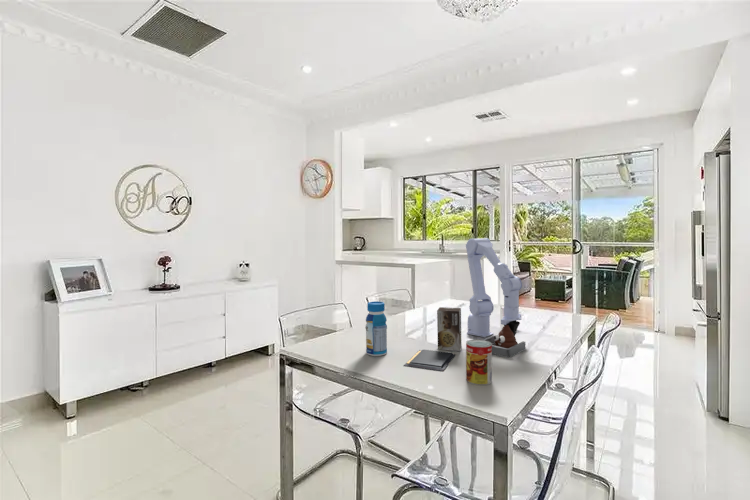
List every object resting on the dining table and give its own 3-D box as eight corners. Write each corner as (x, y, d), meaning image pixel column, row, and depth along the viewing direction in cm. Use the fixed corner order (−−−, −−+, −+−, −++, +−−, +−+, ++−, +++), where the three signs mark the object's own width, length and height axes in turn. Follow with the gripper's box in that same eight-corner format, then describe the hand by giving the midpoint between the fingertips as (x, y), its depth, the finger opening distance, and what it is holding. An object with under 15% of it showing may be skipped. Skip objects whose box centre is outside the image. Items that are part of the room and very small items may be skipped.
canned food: (466, 374, 127) (466, 338, 126) (491, 376, 124) (491, 340, 124) (465, 383, 119) (465, 345, 118) (491, 386, 117) (491, 347, 116)
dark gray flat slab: (443, 368, 129) (401, 362, 136) (443, 373, 129) (401, 367, 136) (457, 351, 147) (419, 346, 154) (457, 356, 147) (419, 351, 154)
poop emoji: (523, 349, 152) (523, 326, 152) (504, 352, 149) (504, 328, 149) (507, 342, 162) (507, 321, 161) (489, 344, 159) (489, 322, 159)
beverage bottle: (383, 357, 145) (382, 305, 144) (362, 355, 148) (361, 304, 147) (390, 351, 153) (389, 301, 152) (370, 349, 155) (369, 300, 155)
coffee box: (461, 346, 157) (461, 307, 156) (460, 351, 151) (459, 310, 150) (439, 344, 160) (439, 306, 159) (437, 349, 154) (436, 309, 153)
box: (475, 349, 153) (475, 342, 153) (493, 342, 163) (493, 335, 162) (509, 357, 143) (509, 349, 143) (525, 349, 153) (525, 341, 152)
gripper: (512, 310, 150) (512, 344, 151) (528, 305, 161) (528, 337, 161) (496, 308, 155) (496, 341, 156) (512, 303, 166) (512, 334, 166)
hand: (511, 338), depth 159 cm, fingers closed
